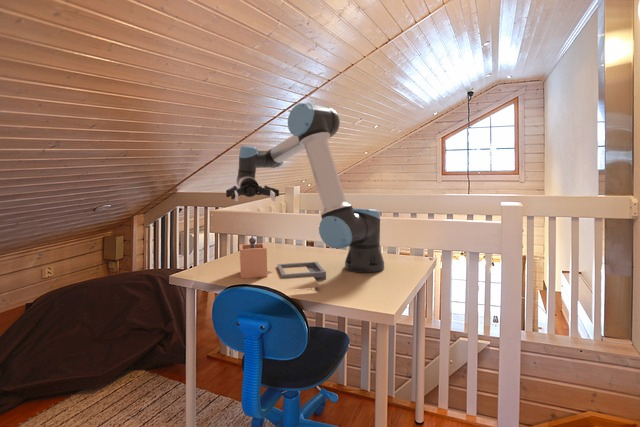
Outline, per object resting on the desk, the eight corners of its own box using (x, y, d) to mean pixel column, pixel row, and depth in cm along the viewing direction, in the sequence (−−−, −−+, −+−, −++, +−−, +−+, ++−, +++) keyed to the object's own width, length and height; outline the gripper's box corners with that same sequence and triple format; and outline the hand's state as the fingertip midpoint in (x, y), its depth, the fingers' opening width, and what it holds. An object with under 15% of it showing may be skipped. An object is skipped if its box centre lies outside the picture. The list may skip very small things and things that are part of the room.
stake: (273, 275, 144) (271, 235, 142) (258, 283, 135) (257, 241, 133) (249, 273, 148) (248, 234, 146) (233, 280, 139) (232, 239, 137)
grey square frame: (317, 267, 154) (316, 261, 154) (326, 278, 139) (326, 272, 139) (277, 270, 151) (277, 264, 151) (282, 282, 136) (282, 275, 136)
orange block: (265, 269, 147) (264, 243, 145) (267, 276, 138) (266, 248, 137) (240, 271, 145) (239, 244, 144) (241, 278, 136) (239, 249, 135)
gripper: (278, 194, 170) (288, 206, 151) (218, 195, 163) (221, 208, 143) (278, 177, 168) (289, 187, 149) (217, 177, 161) (220, 188, 142)
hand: (255, 197), depth 146 cm, fingers open, 13 cm apart
